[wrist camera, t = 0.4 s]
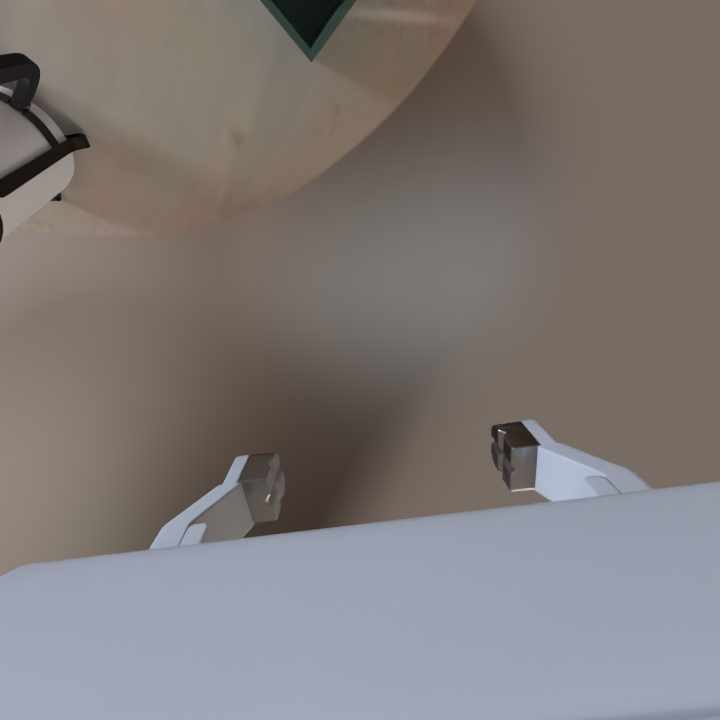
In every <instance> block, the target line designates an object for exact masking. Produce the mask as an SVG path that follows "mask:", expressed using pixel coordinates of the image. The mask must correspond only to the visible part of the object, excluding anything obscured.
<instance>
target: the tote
mask: <svg viewBox="0 0 720 720" xmlns="http://www.w3.org/2000/svg"><path fill="white" fill-rule="evenodd" d="M260 1H261V2H262V3H263V4H264V6H265V7H266V8H267V9H268V10H269V12H270V13H271V14H272V15H273V16H274V18H275V19H276V20H277V21H278V22H279V24H280V25H281V26H282V27H283V28H284V30H285V31H286V32H287V33H288V35H289V36H290V37H291V38H292V39H293V41H294V42H295V43H296V44H297V45H298V47H299V48H300V49H301V50H302V51H303V53H304V54H305V55H306V56H307V57H308V59H309V60H310V61H311V62H312V61H313V60H314V58H315V57H316V56H317V54H318V53H319V51H320V50H321V49H322V47H323V46H324V44H325V43H326V42H327V40H328V39H329V37H330V36H331V35H332V33H333V32H334V30H335V29H336V28H337V26H338V25H339V23H340V22H341V21H342V19H343V18H344V16H345V15H346V14H347V12H348V11H349V9H350V8H351V7H352V5H353V4H354V2H355V1H356V0H260Z"/></svg>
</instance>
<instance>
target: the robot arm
mask: <svg viewBox="0 0 720 720" xmlns="http://www.w3.org/2000/svg"><path fill="white" fill-rule="evenodd" d="M491 435H492V437H493V438H494V440H495V441H494V442H493V443H492V445H491V452H492V458H493V462H494V464H495V466H496V468H497V470H498V471H500V472H502V473H503V480H504V482H505V484H506V485H507V487H508V489H509V490H510V492H512V491H521V490H522V491H523V490H533V489H535V491H536V492H538V493H539V494H541V495H542V496H544V497H545V498H547V499H548V500H550V501H551V502H545V503H535V504H527V505H519V506H510V507H502V508H494V509H486V510H477V511H469V512H460V513H452V514H444V515H435V516H427V517H418V518H410V519H402V520H394V521H386V522H376V523H368V524H361V525H351V526H344V527H335V528H326V529H318V530H310V531H301V532H293V533H285V534H276V535H267V536H259V537H251V538H243V537H244V536H245V535H246V533H247V532H248V531H249V530H250V529H251V528H252V527H253V525H254V523H259V522H265V521H272V520H277V519H278V515H279V512H280V507H281V504H280V499H281V498H282V497H283V495H284V491H285V480H284V474H283V471H282V470H281V469H279V464H280V459H279V456H278V454H277V453H276V452H273V453H264V454H254V455H245V456H238V457H236V458H235V460H234V462H233V464H232V466H231V469H230V470H229V473H228V475H227V477H226V479H225V481H224V483H223V485H218V486H217V487H216V488H215V489H213V490H212V491H210V492H209V493H208V494H206V495H205V496H204V497H202V498H201V499H200V500H198V501H197V502H196V503H194V504H193V505H192V506H190V507H189V508H188V509H186V510H185V511H184V512H182V513H181V514H180V515H178V516H177V517H175V518H174V519H173V520H171V521H170V522H169V523H167V524H166V525H165V526H164V527H163V528H162V529H161V531H160V532H159V534H158V536H157V537H156V539H155V540H154V542H153V544H152V545H151V547H150V549H149V550H142V551H134V552H125V553H117V554H109V555H101V556H92V557H84V558H75V559H67V560H57V561H47V562H37V563H31V564H27V565H23V566H21V567H18V568H16V569H14V570H12V571H10V572H8V573H7V574H5V575H3V576H1V577H0V720H720V482H712V483H704V484H696V485H688V486H679V487H671V488H663V489H655V490H653V489H652V488H651V487H650V486H649V485H648V484H646V483H645V482H644V481H643V480H642V479H641V478H640V477H639V476H637V475H636V474H635V473H634V472H633V471H632V470H629V469H626V468H624V467H621V466H619V465H616V464H614V463H611V462H609V461H606V460H604V459H601V458H598V457H596V456H593V455H591V454H588V453H586V452H583V451H580V450H578V449H575V448H573V447H570V446H567V445H565V444H562V443H556V442H555V441H554V440H553V439H552V437H551V436H550V435H549V434H548V433H547V432H546V431H545V430H544V429H543V428H542V427H541V426H540V425H539V424H538V423H537V421H536V420H533V419H531V420H525V421H520V422H513V423H506V424H499V425H493V426H492V429H491Z"/></svg>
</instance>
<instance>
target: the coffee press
mask: <svg viewBox="0 0 720 720" xmlns="http://www.w3.org/2000/svg"><path fill="white" fill-rule="evenodd" d="M39 79H40V69H39V67H38V66H37V65H36V64H35V63H34V62H33V61H31V60H30V59H29V58H28V57H26V56H25V55H23V54H21V53H11V54H4V55H0V84H4V83H7V82H11V81H15V80H17V83H16V86H15V89H14V91H13V90H10V89H8V88H5V87H3V86H0V242H1V240H2V239H4V238H5V237H6V236H7V235H8V234H10V233H11V232H12V231H13V230H15V229H16V228H17V227H18V226H20V225H21V224H22V223H23V222H25V221H26V220H27V219H28V218H29V217H31V216H32V215H33V214H34V213H36V212H37V211H38V210H39V209H40V208H42V207H43V206H44V205H45V204H47V203H48V202H49V201H61V194H60V192H61V191H62V190H63V189H64V188H65V187H66V186H67V185H68V184H69V183H70V181H71V179H72V177H73V173H74V159H73V154H72V152H73V151H76V150H80V149H84V148H89V147H90V144H89V142H88V140H87V137H86V135H85V134H71V135H64V134H63V133H62V131H61V130H60V129H59V127H58V126H57V125H56V123H55V122H54V121H53V120H52V119H51V118H50V117H49V116H48V115H47V114H46V113H45V112H44V111H43V110H42V109H40V108H39V107H38V106H37V105H35V104H34V103H33V102H32V99H33V97H34V95H35V92H36V89H37V86H38V83H39Z"/></svg>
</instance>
